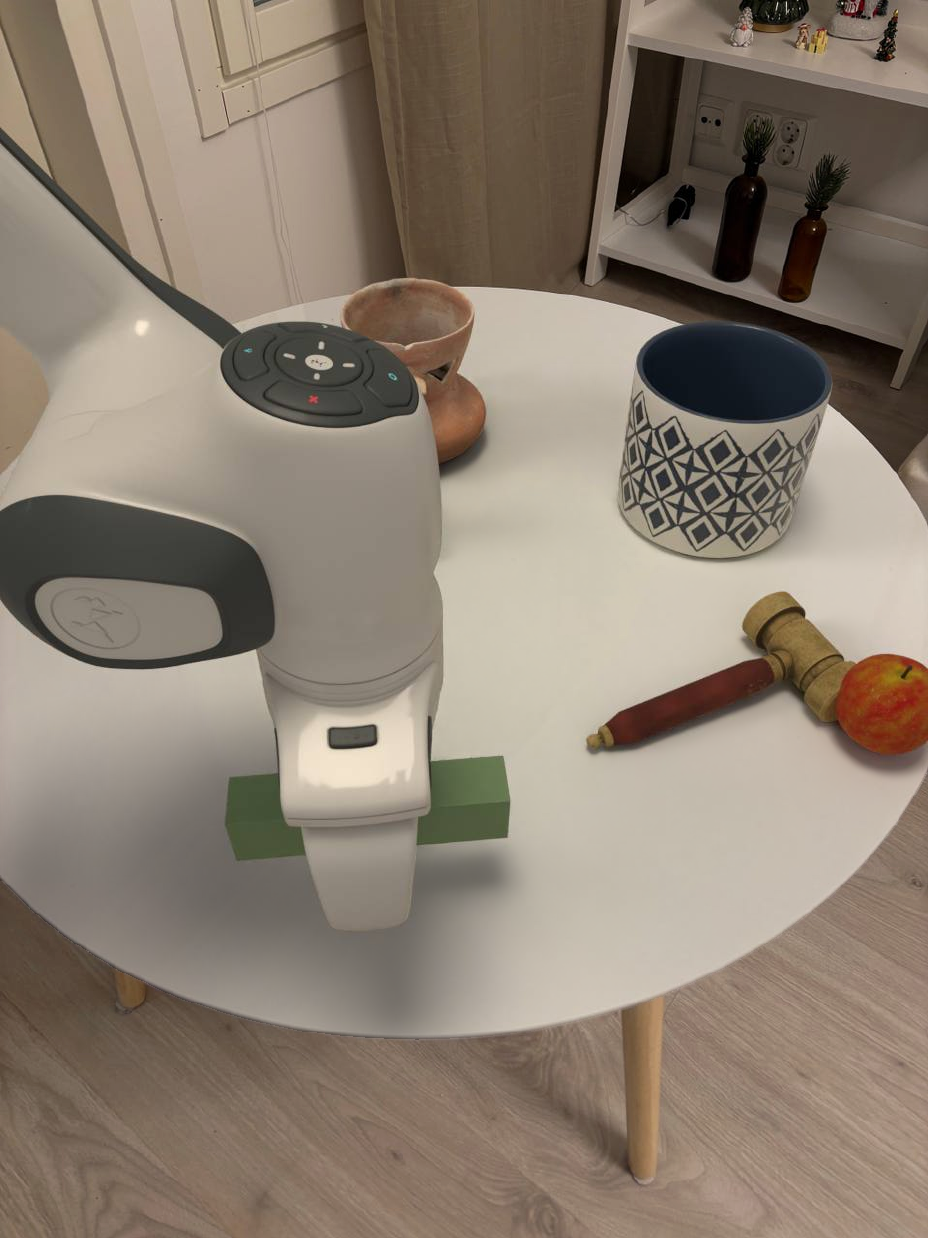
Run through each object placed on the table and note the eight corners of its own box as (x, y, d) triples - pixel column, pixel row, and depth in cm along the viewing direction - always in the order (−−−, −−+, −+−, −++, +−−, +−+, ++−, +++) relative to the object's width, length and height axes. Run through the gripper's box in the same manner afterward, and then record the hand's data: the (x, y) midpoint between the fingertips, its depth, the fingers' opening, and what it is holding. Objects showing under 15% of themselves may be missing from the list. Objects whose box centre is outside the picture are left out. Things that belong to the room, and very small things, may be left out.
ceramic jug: (493, 487, 89) (496, 353, 79) (341, 495, 89) (324, 360, 78) (477, 384, 102) (477, 257, 92) (343, 391, 101) (329, 263, 91)
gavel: (623, 780, 62) (555, 675, 69) (620, 815, 66) (555, 712, 72) (882, 671, 67) (795, 582, 73) (866, 709, 70) (784, 621, 77)
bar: (236, 861, 55) (224, 824, 52) (240, 814, 57) (228, 776, 54) (507, 838, 56) (510, 801, 53) (501, 793, 58) (503, 755, 55)
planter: (805, 478, 90) (848, 342, 79) (769, 583, 80) (813, 443, 69) (645, 439, 94) (666, 305, 84) (593, 533, 84) (609, 394, 74)
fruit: (826, 688, 72) (857, 616, 66) (922, 710, 70) (962, 637, 64) (821, 760, 67) (854, 688, 61) (924, 784, 66) (967, 713, 60)
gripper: (292, 519, 52) (317, 680, 62) (278, 843, 38) (314, 984, 48) (405, 513, 53) (412, 673, 63) (433, 830, 38) (437, 972, 48)
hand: (370, 811), depth 55 cm, fingers closed on bar, 3 cm apart
